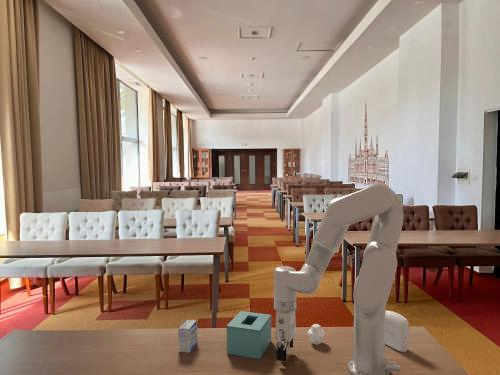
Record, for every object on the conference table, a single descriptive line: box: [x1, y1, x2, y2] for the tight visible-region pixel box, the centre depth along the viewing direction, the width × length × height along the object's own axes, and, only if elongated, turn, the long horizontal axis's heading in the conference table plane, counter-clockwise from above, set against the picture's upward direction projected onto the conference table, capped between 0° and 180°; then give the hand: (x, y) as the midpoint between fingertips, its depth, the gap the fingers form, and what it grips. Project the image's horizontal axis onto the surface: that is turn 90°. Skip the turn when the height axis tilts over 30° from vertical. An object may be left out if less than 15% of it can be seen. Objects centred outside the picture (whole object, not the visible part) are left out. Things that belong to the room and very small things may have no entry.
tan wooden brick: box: [281, 342, 291, 363], centre depth 135 cm, size 2×5×5 cm, turn 161°
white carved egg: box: [307, 323, 326, 346], centre depth 146 cm, size 6×6×7 cm
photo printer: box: [385, 310, 410, 353], centre depth 143 cm, size 10×4×12 cm, turn 31°
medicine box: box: [177, 319, 198, 354], centre depth 143 cm, size 8×4×9 cm, turn 168°
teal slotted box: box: [226, 310, 272, 360], centre depth 143 cm, size 12×14×10 cm
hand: (285, 353), depth 135 cm, fingers open, 9 cm apart
